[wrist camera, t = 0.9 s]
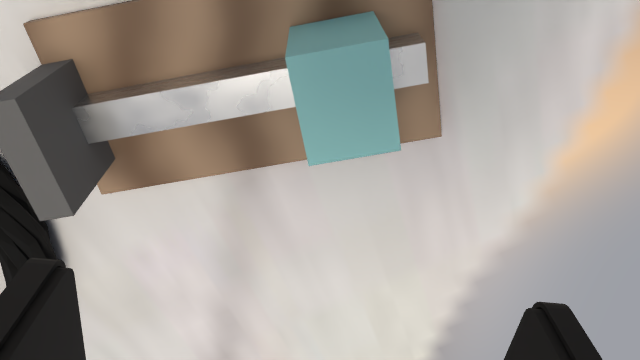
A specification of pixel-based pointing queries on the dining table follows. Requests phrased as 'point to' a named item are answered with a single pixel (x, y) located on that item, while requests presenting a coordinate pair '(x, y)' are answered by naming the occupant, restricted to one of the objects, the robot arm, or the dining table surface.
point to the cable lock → (19, 229)
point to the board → (213, 54)
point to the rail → (218, 95)
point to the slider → (343, 88)
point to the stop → (50, 140)
